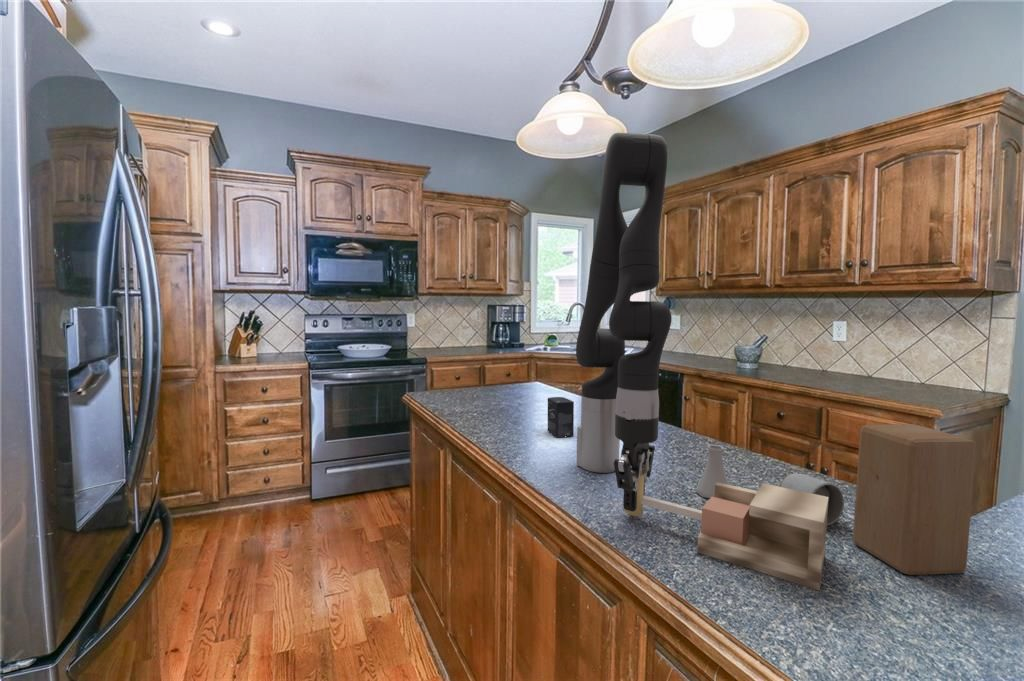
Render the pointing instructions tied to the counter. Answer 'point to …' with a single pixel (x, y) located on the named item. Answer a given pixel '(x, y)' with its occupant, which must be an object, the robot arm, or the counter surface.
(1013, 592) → the counter surface
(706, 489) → the flask
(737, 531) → the pull block
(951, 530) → the wooden block
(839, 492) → the ceramic mug
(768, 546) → the shelf
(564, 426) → the box
